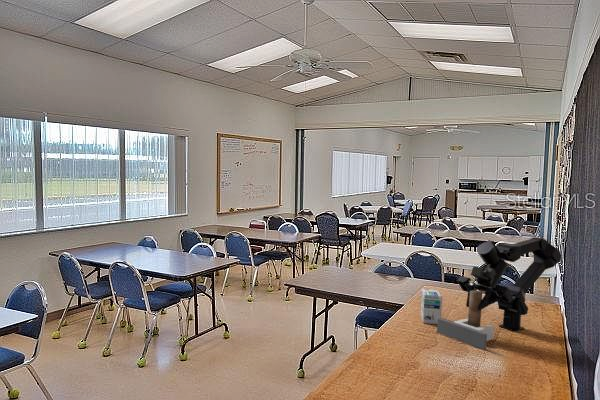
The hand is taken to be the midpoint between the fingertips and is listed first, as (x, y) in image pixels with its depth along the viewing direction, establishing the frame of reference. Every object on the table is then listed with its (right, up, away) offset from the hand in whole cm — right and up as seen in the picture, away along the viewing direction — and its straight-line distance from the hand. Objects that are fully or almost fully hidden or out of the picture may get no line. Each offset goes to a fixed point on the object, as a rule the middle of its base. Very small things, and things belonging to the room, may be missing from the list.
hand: (472, 308), depth 157 cm
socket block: (0, -10, +1) cm, 10 cm away
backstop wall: (-5, -10, -3) cm, 12 cm away
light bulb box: (-9, -9, +19) cm, 23 cm away
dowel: (+1, -7, +1) cm, 7 cm away
